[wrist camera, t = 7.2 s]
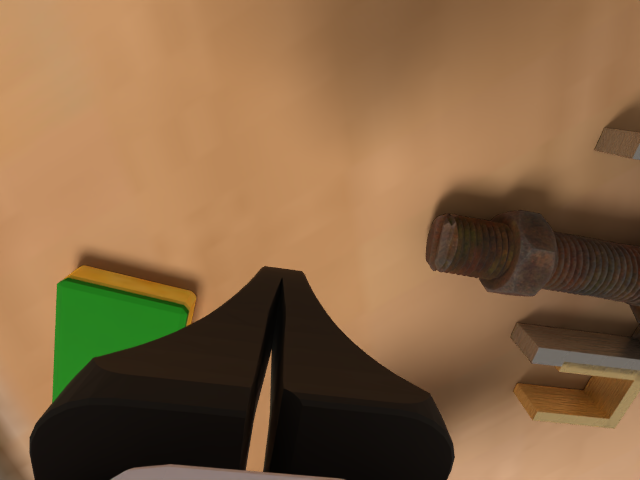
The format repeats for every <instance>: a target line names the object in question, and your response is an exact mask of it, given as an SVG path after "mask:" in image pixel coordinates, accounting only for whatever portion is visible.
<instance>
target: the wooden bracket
mask: <svg viewBox="0 0 640 480" xmlns="http://www.w3.org/2000/svg"><path fill="white" fill-rule="evenodd" d="M566 363H567V364H569V365H567V364H566ZM570 363H572V362H565V363H563V365H562V367H560V366H554V367H555V368H556V369H557V370H558V371H559V372H566V373H575V374H583V375H592V376H591V378H590V380H589V382H588V383H587V385H586V387H585V388H584V390H576V389H567V388H558V387H549V386H540V385H531V384H522V383H517V384H516V387H515V389H514V391H513V392H514V393H515V395H516V396H517V398H518V399H519V401H520V402H521V404H522V405H523V407H524V408H525V410H526V411H527V413H528V414H529V416H530V417H531V418H532V420H534V421H544V422H554V423H564V424H574V425H584V426H594V427H603V428H613V429H615V427H616V426H617V424H618V423H619V421H620V420H621V418H622V417H623V415H624V414H625V412H626V411H627V409H628V408H629V406H630V405H631V403H632V402H633V400H634V399H635V397H636V396H637V394H638V393H639V391H640V374H639V373H640V370H636V373H635V370H634V371H633V370H631V369H623V368H621V369H623V370H624V371H623V370H622V371H621V369H620V368H617V369H618V371H617V369H616V368H614V367H612V368H611V367H609V368H608V367H607V368H606V367H605V366H602V367H603V368H602V367H601V366H600V367H601V368H600V367H599V366H598V367H596V366H597V365H595V366H594V365H591V366H589V365H588V364H586V365H588V366H586V365H585V364H583V365H582V364H581V365H579V364H580V363H578V364H577V363H573V364H570ZM575 364H576V365H575ZM574 365H575V366H574ZM569 366H570V367H569ZM572 366H573V367H572ZM582 366H583V367H582ZM585 366H586V368H585ZM579 367H580V368H579ZM594 367H595V368H594ZM604 367H605V368H604ZM582 368H583V369H582ZM592 368H593V370H592ZM596 368H597V369H596ZM613 368H614V370H612V369H613ZM598 369H599V370H598ZM615 369H616V370H615ZM612 371H613V372H612ZM628 371H629V372H630V373H629V372H628ZM632 371H633V372H632ZM621 372H622V373H621ZM625 372H627V373H625ZM638 372H639V373H638ZM623 373H624V374H623ZM637 373H638V374H639V375H638V374H637ZM634 374H635V375H634Z"/></svg>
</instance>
